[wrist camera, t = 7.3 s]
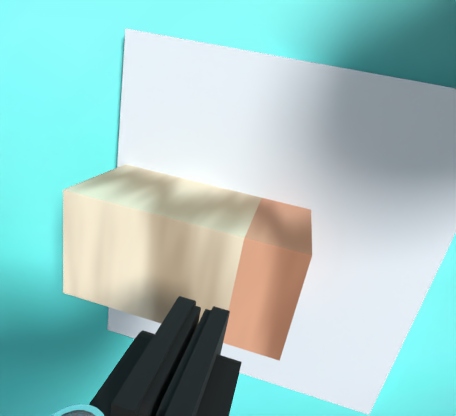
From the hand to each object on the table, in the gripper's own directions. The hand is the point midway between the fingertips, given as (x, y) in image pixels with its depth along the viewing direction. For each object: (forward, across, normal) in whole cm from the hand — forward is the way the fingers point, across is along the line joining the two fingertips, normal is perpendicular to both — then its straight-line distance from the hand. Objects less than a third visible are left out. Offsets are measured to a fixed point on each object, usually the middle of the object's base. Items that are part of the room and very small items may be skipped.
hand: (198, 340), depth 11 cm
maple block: (+5, -3, 0) cm, 6 cm away
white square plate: (+8, -1, 0) cm, 9 cm away
